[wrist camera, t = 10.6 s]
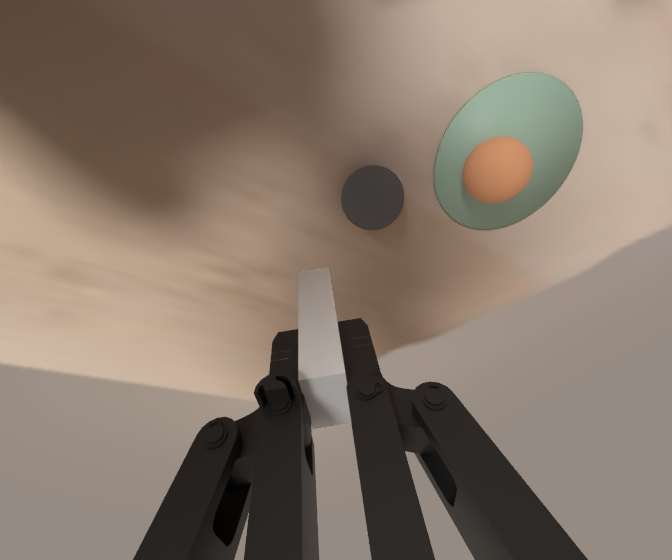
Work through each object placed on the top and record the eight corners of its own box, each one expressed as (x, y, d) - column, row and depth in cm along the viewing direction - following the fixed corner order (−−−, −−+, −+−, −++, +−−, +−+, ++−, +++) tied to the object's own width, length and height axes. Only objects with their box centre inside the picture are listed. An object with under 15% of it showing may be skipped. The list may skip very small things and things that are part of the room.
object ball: (499, 218, 26) (540, 198, 28) (509, 148, 23) (554, 131, 25) (447, 203, 30) (486, 187, 32) (450, 142, 27) (493, 128, 29)
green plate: (430, 238, 34) (431, 238, 33) (437, 86, 26) (438, 86, 26) (558, 217, 34) (559, 218, 34) (603, 60, 26) (605, 60, 26)
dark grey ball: (401, 242, 27) (400, 214, 31) (408, 179, 23) (406, 157, 28) (337, 239, 28) (346, 212, 32) (335, 177, 24) (345, 156, 29)
